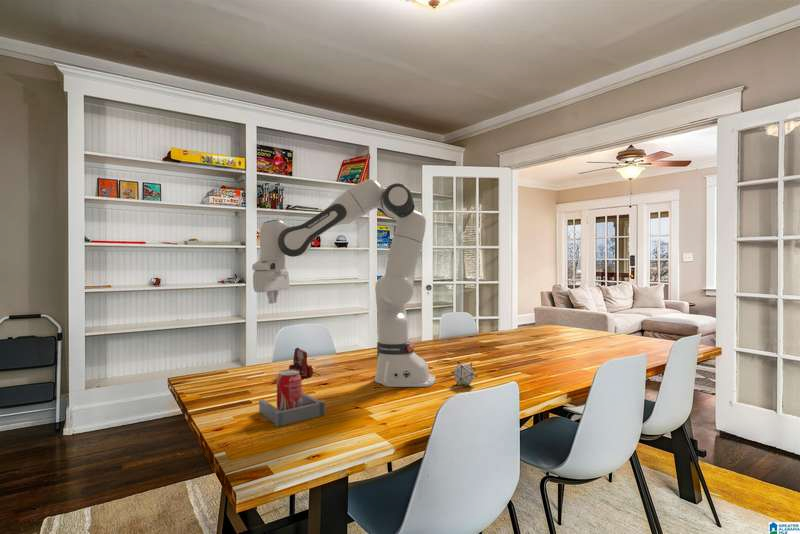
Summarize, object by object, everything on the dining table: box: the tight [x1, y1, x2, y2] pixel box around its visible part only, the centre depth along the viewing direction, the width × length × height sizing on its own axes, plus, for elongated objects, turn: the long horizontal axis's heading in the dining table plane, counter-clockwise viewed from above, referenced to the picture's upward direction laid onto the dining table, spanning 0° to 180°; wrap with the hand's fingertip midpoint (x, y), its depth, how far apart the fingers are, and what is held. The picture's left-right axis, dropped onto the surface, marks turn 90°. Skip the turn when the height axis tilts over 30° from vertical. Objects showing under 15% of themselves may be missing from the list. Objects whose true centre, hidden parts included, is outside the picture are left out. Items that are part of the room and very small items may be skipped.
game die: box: [450, 361, 478, 388], centre depth 153 cm, size 9×8×10 cm
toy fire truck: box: [288, 347, 314, 377], centre depth 168 cm, size 7×12×10 cm, turn 31°
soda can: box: [276, 369, 303, 411], centre depth 126 cm, size 7×7×12 cm
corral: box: [258, 391, 326, 428], centre depth 126 cm, size 14×15×4 cm
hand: (272, 303), depth 157 cm, fingers closed
